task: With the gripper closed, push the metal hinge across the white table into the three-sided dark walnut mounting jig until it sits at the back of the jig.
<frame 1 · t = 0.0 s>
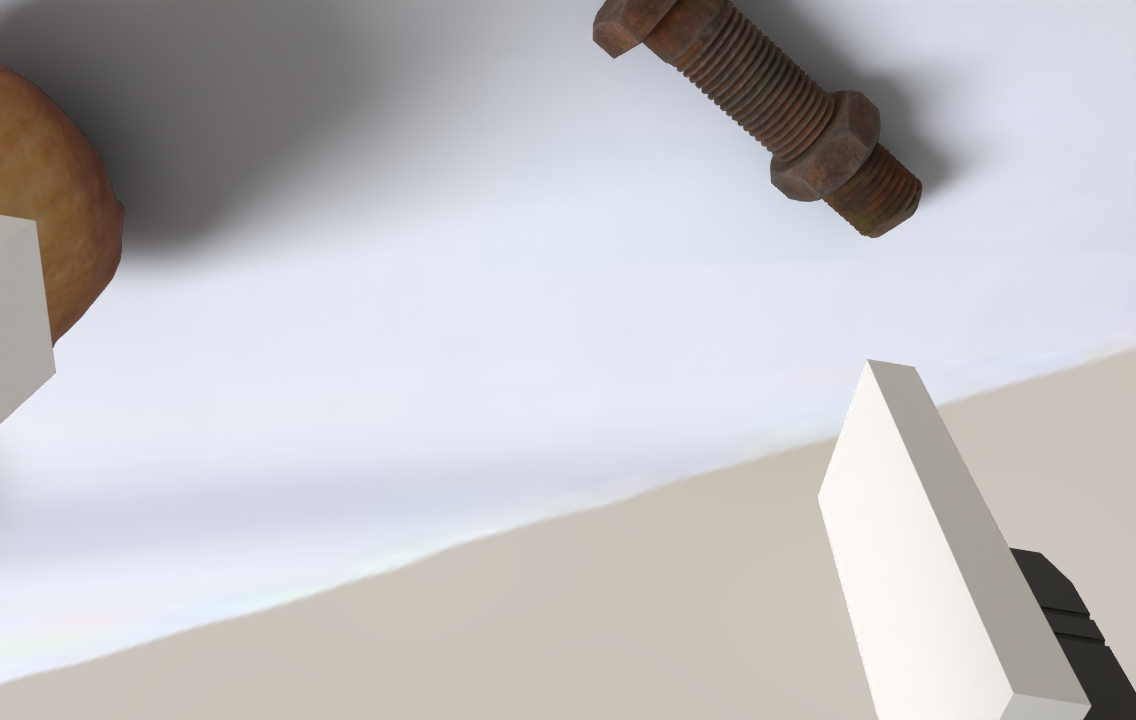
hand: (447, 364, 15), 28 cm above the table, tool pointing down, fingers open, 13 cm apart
bolt: (762, 87, 40), on the table
butternut squash: (19, 164, 44), on the table
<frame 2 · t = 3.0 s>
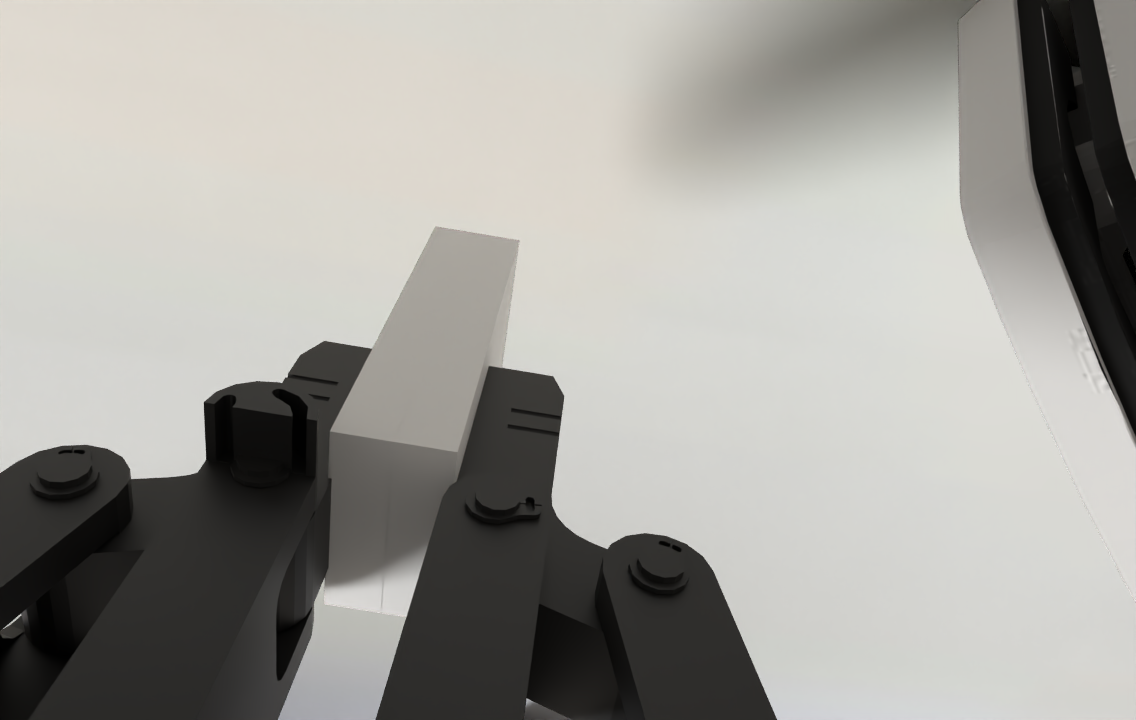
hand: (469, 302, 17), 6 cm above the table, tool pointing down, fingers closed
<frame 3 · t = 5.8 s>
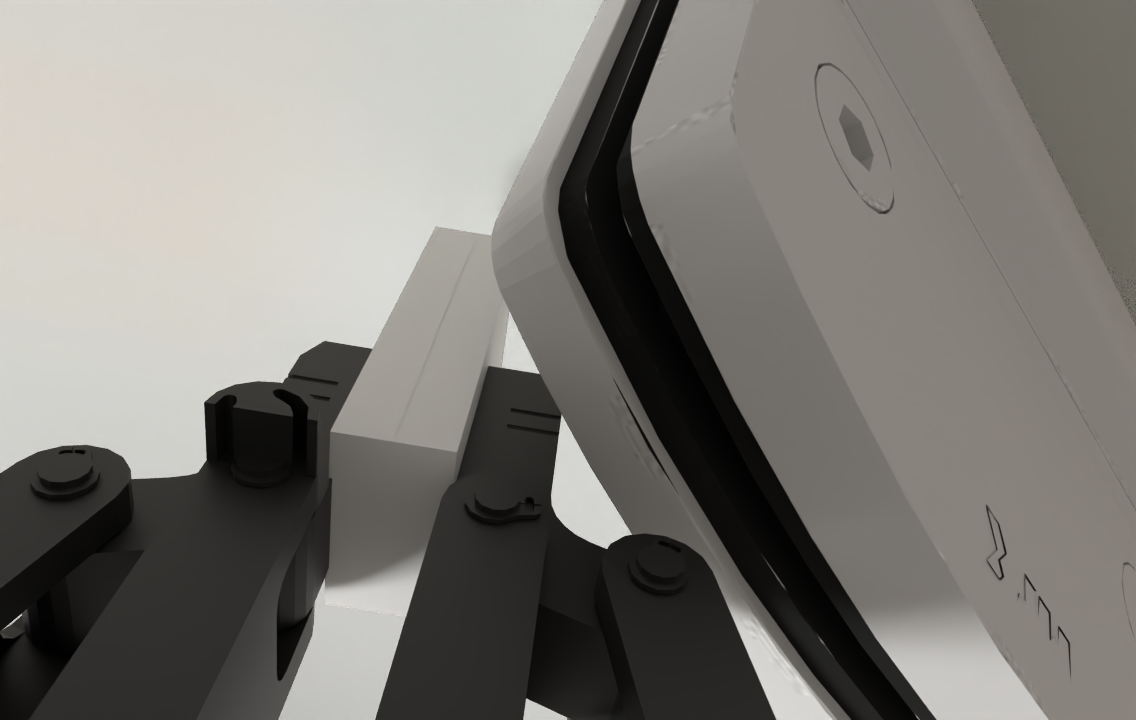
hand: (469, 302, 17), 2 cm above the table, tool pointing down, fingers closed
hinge: (881, 312, 19), on the table
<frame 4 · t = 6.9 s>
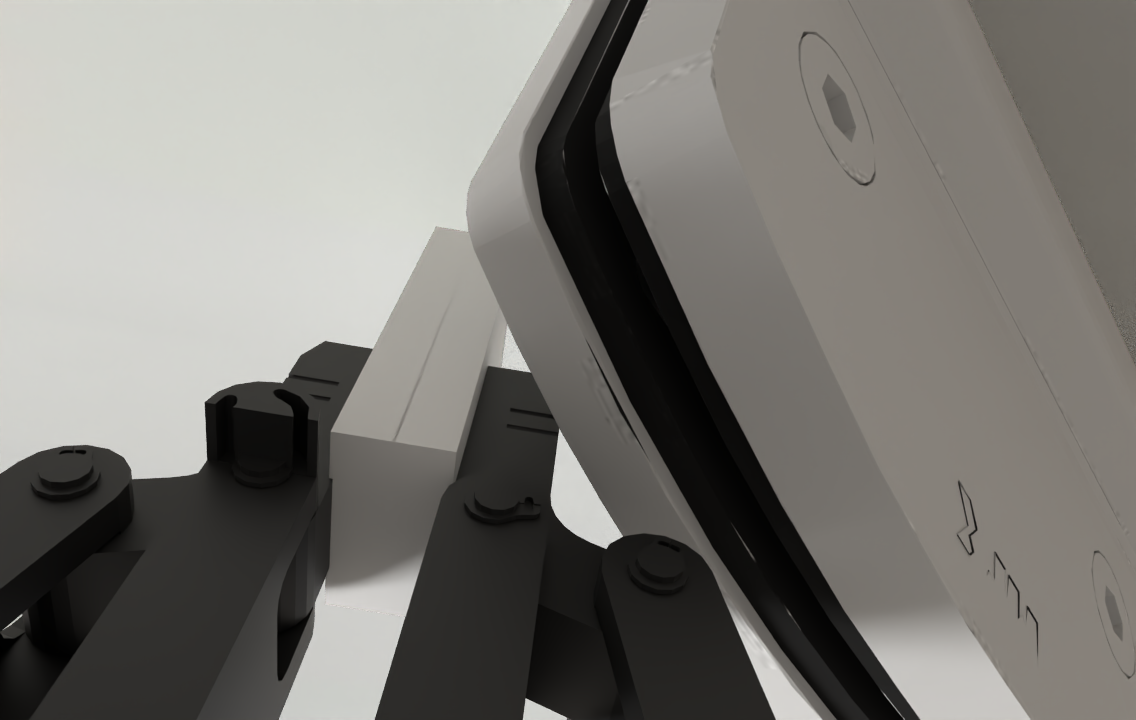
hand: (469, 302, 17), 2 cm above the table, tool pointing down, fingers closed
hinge: (861, 296, 19), on the table
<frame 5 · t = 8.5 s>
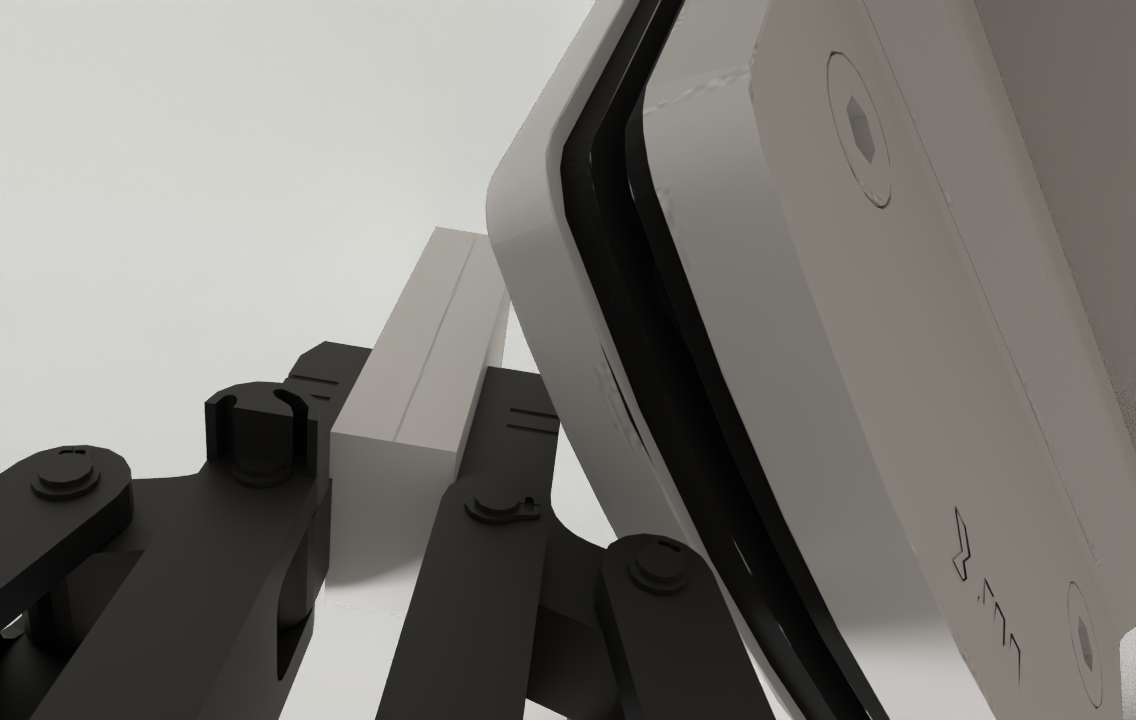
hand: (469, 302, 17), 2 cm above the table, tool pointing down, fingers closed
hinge: (856, 316, 19), on the table, touching gripper
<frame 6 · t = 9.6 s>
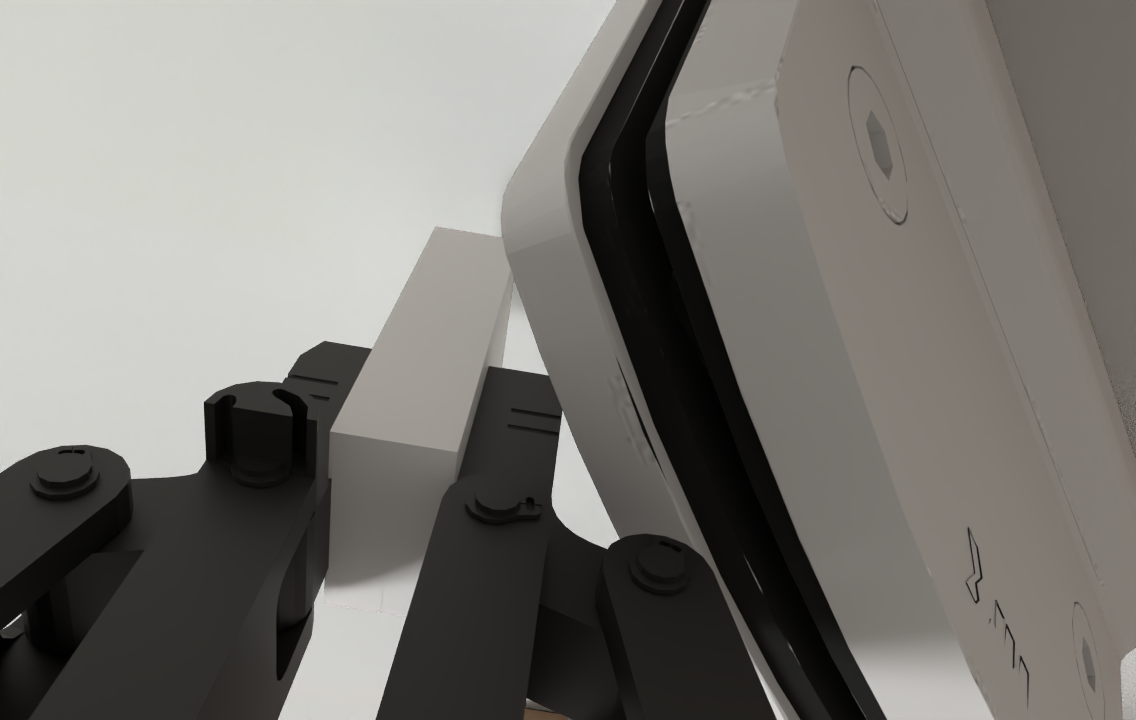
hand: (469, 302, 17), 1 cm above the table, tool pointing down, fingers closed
mounting jig: (1083, 370, 19), on the table
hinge: (863, 330, 19), on the table
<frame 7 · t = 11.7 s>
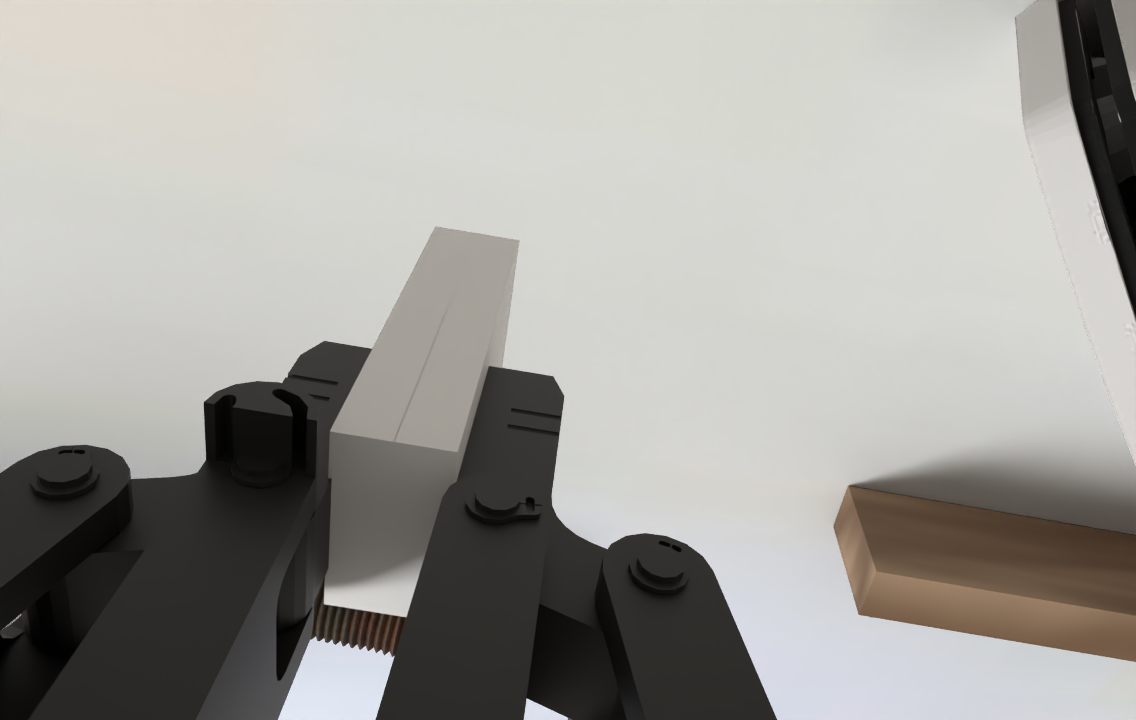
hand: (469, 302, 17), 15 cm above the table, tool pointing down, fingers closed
bolt: (378, 569, 41), on the table
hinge: (1121, 221, 31), on the table
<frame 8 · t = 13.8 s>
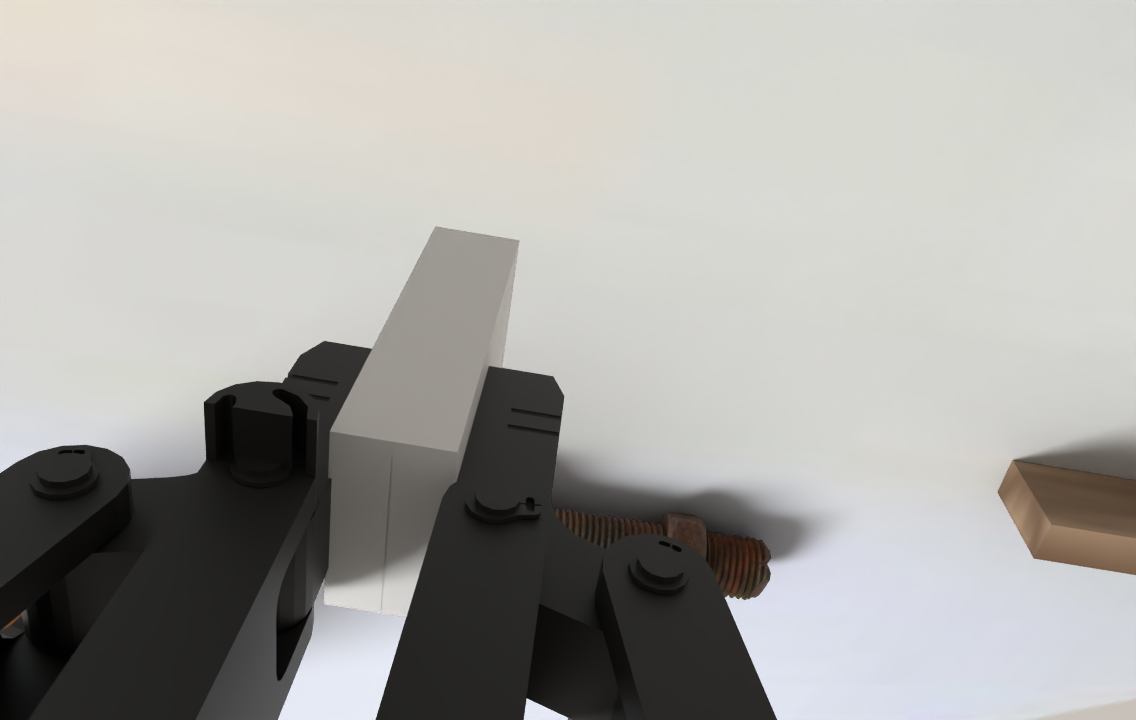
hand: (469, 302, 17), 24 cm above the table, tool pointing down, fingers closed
bolt: (620, 520, 51), on the table
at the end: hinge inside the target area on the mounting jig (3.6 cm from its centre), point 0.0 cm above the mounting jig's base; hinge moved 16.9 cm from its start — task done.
